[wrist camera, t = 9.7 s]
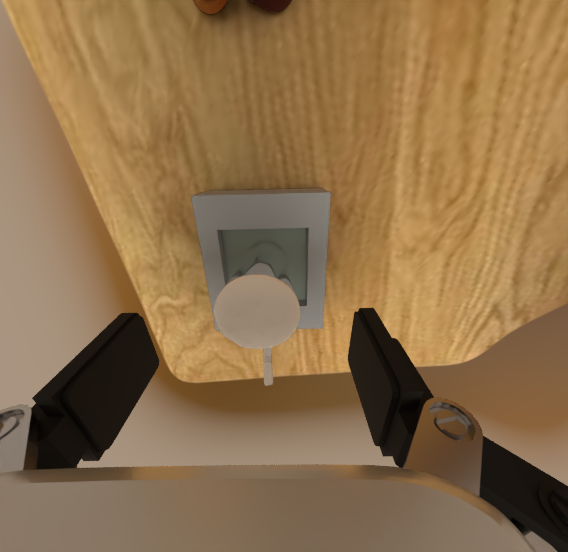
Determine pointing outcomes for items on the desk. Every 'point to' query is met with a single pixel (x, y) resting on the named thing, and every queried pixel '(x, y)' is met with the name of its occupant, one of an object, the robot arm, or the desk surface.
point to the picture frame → (267, 239)
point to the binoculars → (211, 3)
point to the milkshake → (259, 304)
